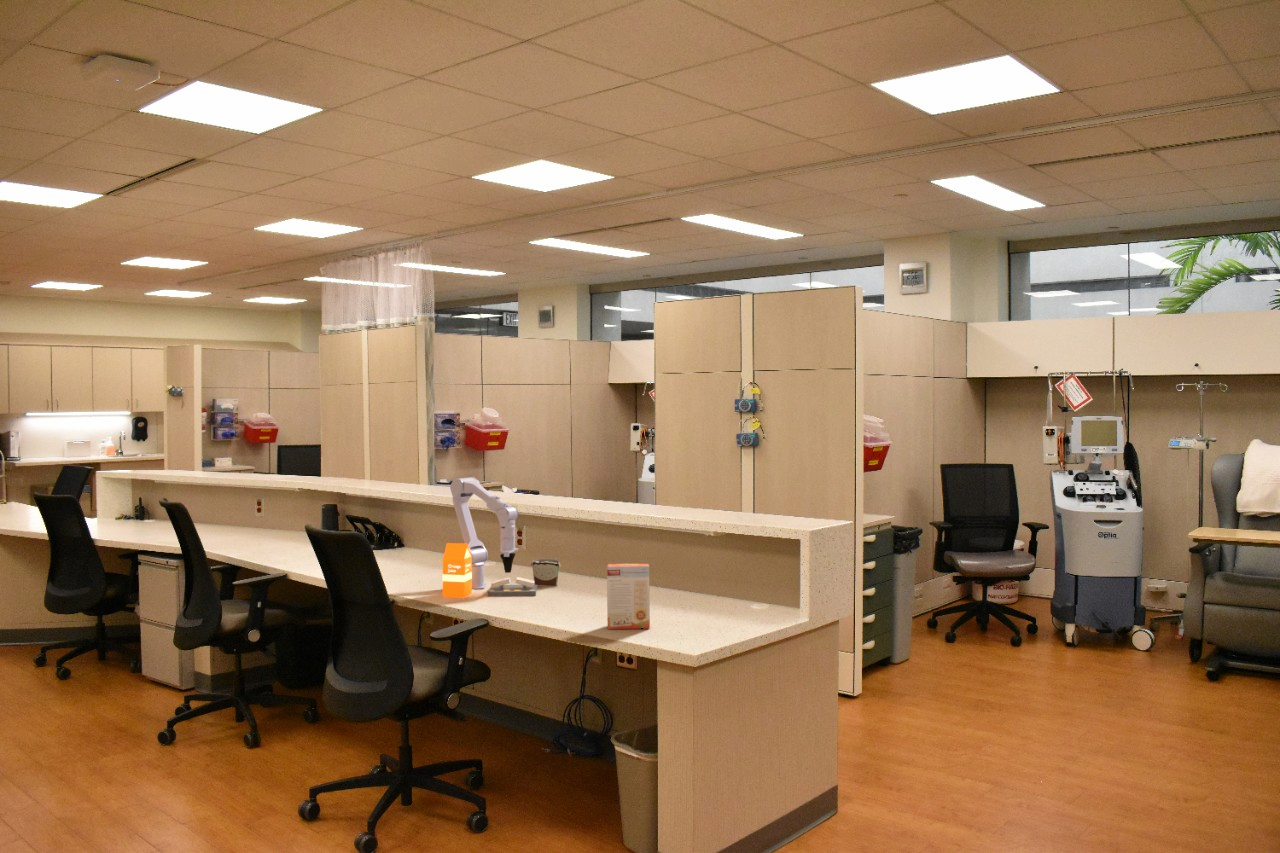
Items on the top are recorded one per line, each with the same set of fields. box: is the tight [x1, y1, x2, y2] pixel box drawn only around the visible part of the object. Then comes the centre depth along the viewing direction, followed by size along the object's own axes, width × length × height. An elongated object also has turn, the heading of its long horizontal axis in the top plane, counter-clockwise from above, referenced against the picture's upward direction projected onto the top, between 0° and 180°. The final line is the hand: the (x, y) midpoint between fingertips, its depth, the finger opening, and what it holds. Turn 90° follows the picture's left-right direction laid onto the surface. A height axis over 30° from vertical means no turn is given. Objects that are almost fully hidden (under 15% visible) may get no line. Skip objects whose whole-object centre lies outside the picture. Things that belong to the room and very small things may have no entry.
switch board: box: [487, 584, 538, 597], centre depth 373 cm, size 18×14×3 cm
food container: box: [530, 558, 561, 587], centre depth 388 cm, size 12×6×10 cm, turn 76°
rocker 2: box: [515, 576, 535, 587], centre depth 373 cm, size 7×5×2 cm
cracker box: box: [606, 563, 651, 630], centre depth 316 cm, size 14×6×21 cm, turn 92°
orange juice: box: [442, 542, 473, 599], centre depth 367 cm, size 8×9×20 cm
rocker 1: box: [490, 576, 512, 588], centre depth 372 cm, size 7×5×2 cm
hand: (508, 572), depth 372 cm, fingers closed
